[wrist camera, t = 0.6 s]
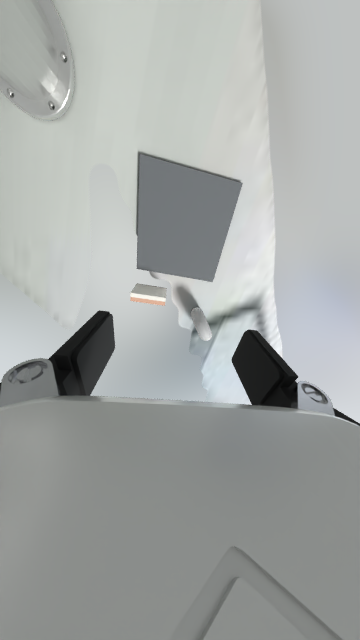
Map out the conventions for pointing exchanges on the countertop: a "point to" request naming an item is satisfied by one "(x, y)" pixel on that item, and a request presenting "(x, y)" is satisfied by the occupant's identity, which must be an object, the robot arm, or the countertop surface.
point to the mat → (182, 218)
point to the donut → (201, 324)
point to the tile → (148, 294)
